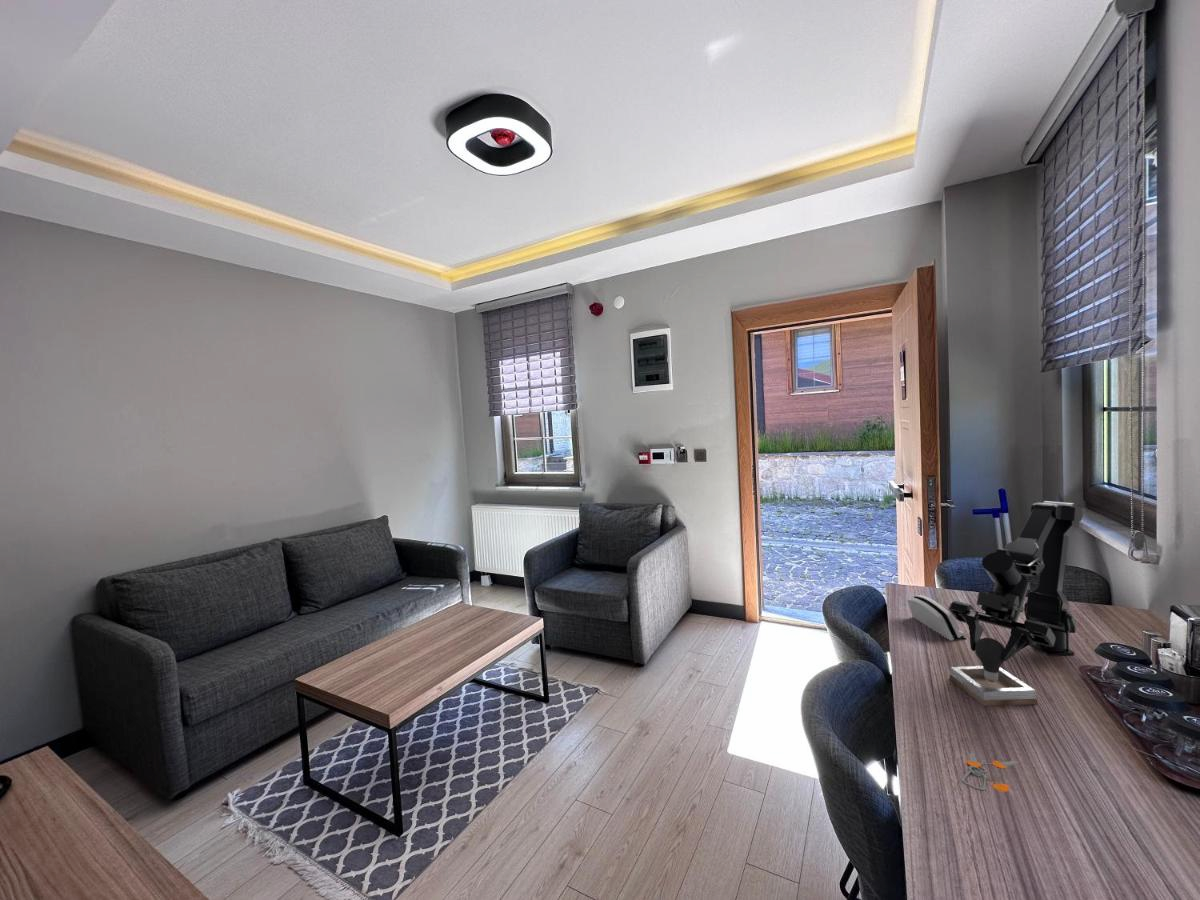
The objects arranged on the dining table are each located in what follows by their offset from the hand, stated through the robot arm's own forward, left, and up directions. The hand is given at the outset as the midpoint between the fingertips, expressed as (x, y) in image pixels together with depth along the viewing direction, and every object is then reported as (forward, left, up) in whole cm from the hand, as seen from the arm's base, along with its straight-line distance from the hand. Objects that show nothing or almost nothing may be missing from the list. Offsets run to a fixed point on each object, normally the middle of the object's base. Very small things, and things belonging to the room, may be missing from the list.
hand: (987, 655), depth 110 cm
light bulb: (-1, -1, -7) cm, 7 cm away
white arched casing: (-9, -34, -9) cm, 36 cm away
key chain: (+17, +25, -9) cm, 32 cm away
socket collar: (-1, -1, -9) cm, 9 cm away
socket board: (-1, -1, -9) cm, 9 cm away
